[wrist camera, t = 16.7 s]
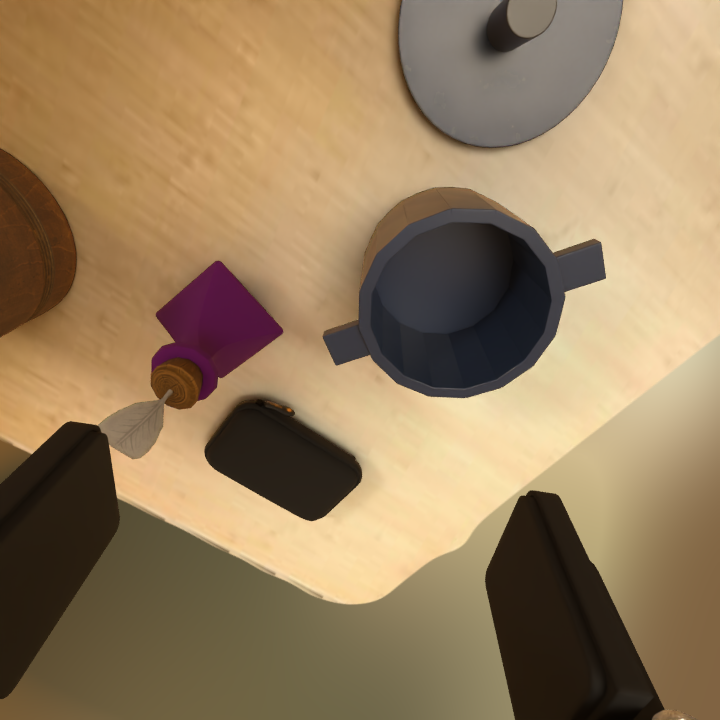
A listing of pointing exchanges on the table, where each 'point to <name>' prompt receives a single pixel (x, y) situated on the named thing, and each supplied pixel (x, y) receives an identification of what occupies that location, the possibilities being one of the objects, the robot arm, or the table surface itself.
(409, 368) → the cooking pot
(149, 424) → the perfume bottle
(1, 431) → the table surface
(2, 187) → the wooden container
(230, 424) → the carrying case
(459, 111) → the blue pot lid
